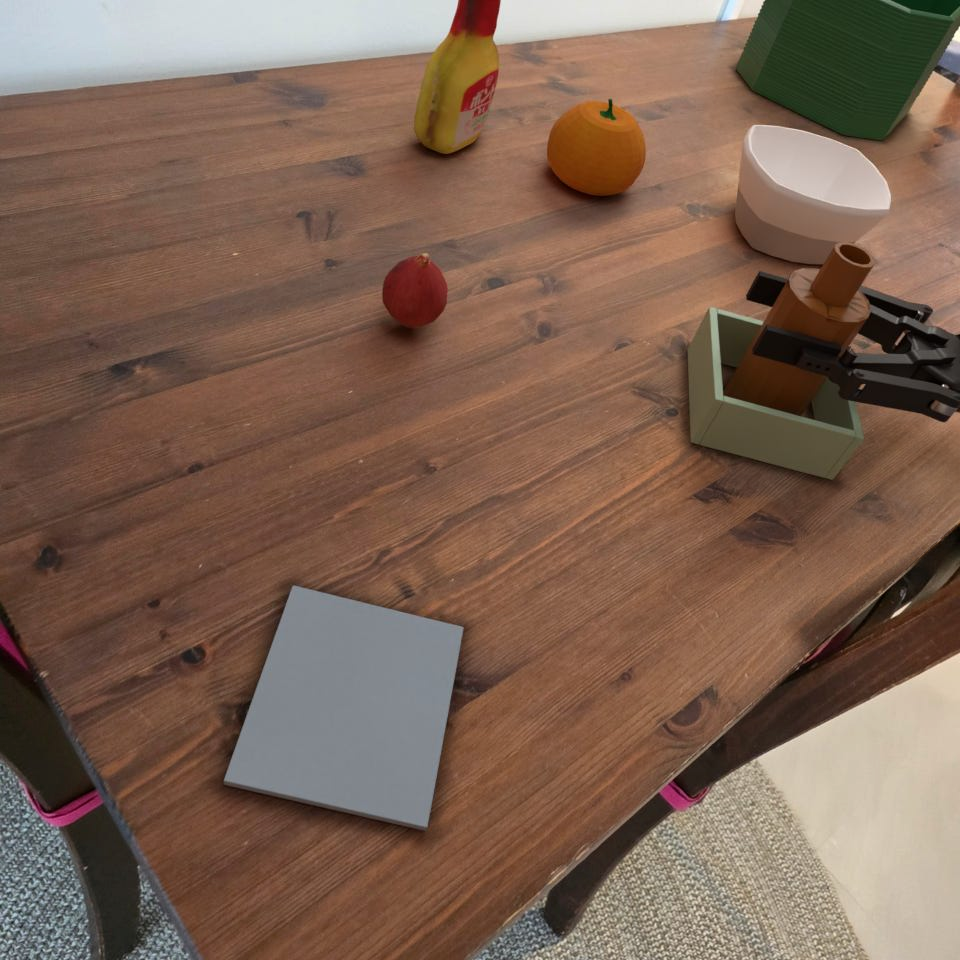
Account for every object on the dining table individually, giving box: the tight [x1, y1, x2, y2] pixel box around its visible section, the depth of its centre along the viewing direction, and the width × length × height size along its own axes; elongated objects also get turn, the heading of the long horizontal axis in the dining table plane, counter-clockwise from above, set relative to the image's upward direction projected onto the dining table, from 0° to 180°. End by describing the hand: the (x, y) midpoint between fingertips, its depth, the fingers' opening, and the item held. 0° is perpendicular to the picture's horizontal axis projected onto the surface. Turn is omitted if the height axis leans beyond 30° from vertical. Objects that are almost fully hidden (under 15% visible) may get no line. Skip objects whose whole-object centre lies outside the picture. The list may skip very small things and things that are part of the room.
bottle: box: [413, 0, 502, 155], centre depth 99 cm, size 12×6×20 cm, turn 141°
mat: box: [223, 585, 465, 832], centre depth 56 cm, size 14×12×1 cm
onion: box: [381, 252, 449, 329], centre depth 79 cm, size 6×6×8 cm
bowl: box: [734, 124, 892, 265], centre depth 106 cm, size 18×18×9 cm
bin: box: [686, 306, 865, 481], centre depth 83 cm, size 14×14×6 cm
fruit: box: [546, 98, 647, 197], centre depth 104 cm, size 12×12×10 cm
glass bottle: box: [723, 242, 876, 417], centre depth 78 cm, size 7×7×18 cm
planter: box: [735, 0, 960, 141], centre depth 137 cm, size 26×26×18 cm
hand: (756, 311), depth 77 cm, fingers closed on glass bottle, 7 cm apart
